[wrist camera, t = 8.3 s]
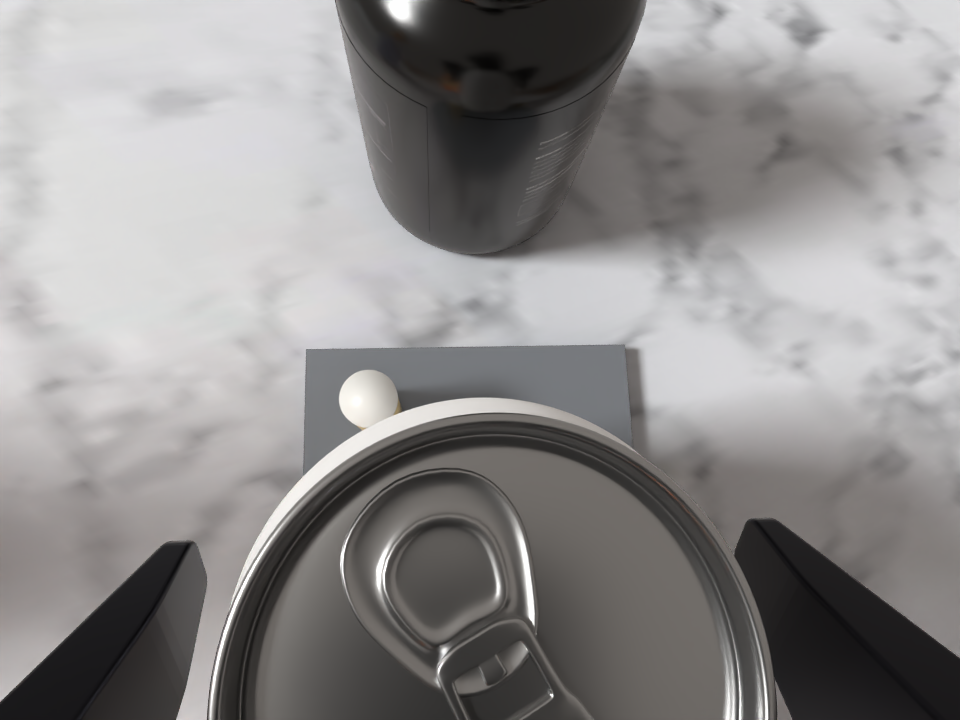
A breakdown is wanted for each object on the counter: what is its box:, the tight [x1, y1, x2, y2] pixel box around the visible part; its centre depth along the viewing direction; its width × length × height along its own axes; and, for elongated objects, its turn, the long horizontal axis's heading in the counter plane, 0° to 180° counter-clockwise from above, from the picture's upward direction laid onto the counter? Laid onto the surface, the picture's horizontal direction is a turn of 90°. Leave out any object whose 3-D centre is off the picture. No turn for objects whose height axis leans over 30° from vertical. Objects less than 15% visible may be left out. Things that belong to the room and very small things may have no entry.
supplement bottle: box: [335, 0, 647, 254], centre depth 15 cm, size 7×7×12 cm
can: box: [207, 398, 777, 720], centre depth 12 cm, size 6×6×12 cm
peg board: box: [303, 345, 633, 476], centre depth 16 cm, size 12×10×4 cm
